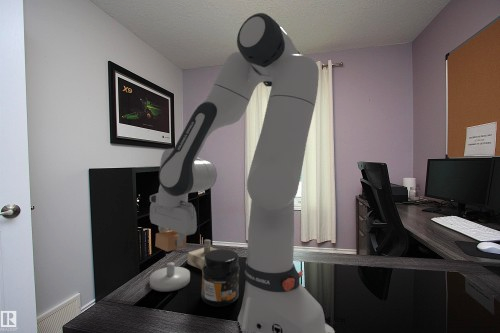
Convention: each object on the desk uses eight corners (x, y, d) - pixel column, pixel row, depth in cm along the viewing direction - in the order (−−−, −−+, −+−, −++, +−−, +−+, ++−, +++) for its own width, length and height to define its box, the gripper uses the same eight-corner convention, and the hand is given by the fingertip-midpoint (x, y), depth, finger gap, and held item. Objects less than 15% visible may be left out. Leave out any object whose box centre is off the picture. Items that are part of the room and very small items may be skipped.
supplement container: (202, 311, 60) (204, 264, 60) (199, 289, 70) (201, 249, 70) (242, 305, 63) (244, 260, 63) (234, 285, 73) (235, 247, 73)
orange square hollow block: (185, 246, 75) (186, 233, 75) (167, 251, 70) (168, 238, 70) (173, 241, 79) (174, 229, 79) (155, 246, 74) (155, 233, 74)
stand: (225, 262, 90) (226, 240, 90) (205, 271, 82) (206, 247, 82) (207, 255, 96) (208, 235, 96) (187, 263, 88) (188, 240, 88)
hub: (197, 280, 75) (198, 263, 75) (163, 296, 66) (164, 276, 66) (175, 269, 83) (175, 253, 83) (141, 282, 73) (142, 264, 73)
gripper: (203, 202, 70) (200, 248, 70) (164, 194, 83) (162, 233, 83) (185, 204, 65) (183, 254, 65) (147, 195, 78) (144, 237, 78)
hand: (171, 242), depth 74 cm, fingers closed on orange square hollow block, 7 cm apart
